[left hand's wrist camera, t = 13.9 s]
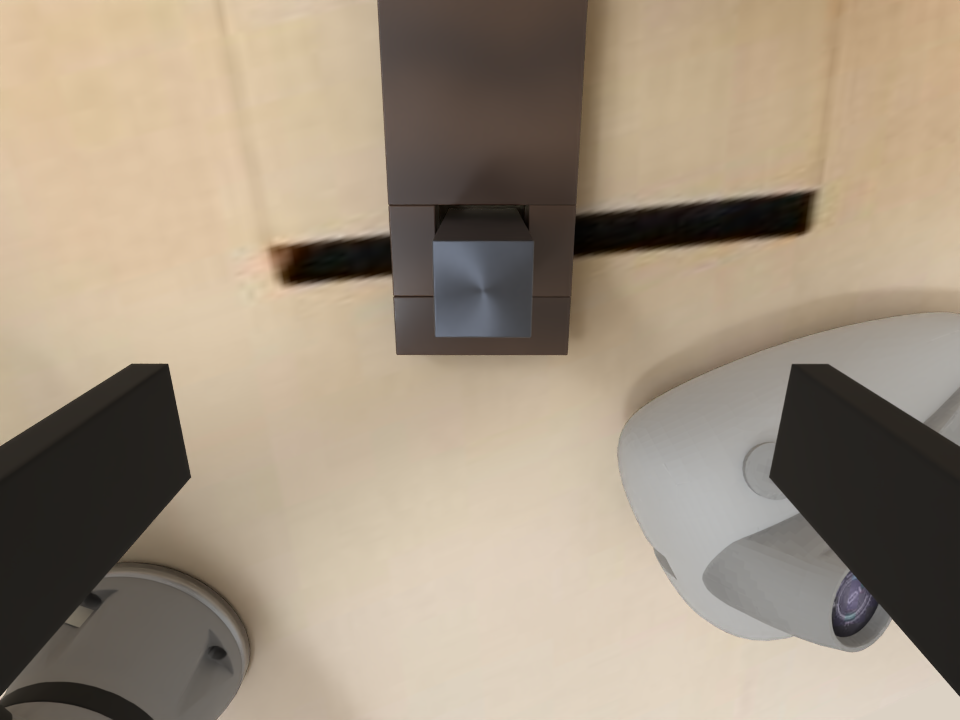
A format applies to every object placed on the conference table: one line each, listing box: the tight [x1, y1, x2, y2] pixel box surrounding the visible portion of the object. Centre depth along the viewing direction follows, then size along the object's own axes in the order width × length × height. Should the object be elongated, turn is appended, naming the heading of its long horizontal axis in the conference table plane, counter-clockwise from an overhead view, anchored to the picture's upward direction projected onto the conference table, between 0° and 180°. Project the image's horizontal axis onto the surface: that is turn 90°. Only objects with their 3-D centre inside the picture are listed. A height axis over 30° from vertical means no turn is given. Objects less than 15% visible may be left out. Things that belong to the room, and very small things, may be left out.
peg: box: [432, 209, 534, 338], centre depth 29 cm, size 4×4×12 cm
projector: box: [617, 312, 960, 652], centre depth 32 cm, size 22×23×15 cm
